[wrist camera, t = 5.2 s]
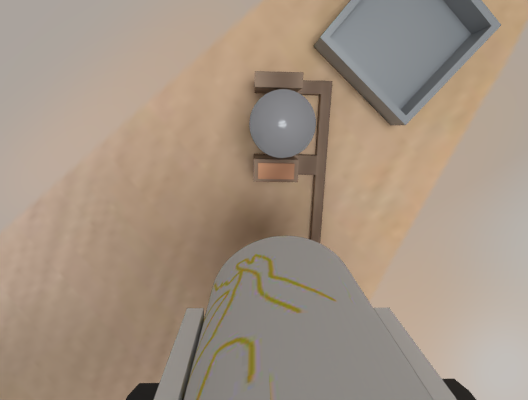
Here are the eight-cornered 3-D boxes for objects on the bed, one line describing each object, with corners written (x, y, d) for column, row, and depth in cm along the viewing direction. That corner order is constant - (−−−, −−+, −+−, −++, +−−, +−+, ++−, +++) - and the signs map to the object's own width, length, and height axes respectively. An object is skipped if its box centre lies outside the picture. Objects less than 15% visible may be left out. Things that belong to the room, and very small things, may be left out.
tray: (390, 125, 30) (405, 125, 27) (313, 46, 28) (320, 37, 25) (475, 35, 28) (501, 24, 25) (399, -57, 26) (417, -80, 23)
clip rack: (252, 321, 35) (251, 355, 30) (255, 80, 28) (254, 70, 23) (312, 321, 36) (322, 354, 30) (330, 82, 29) (346, 73, 23)
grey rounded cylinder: (251, 146, 30) (249, 157, 20) (251, 100, 29) (249, 88, 19) (295, 147, 30) (313, 158, 20) (297, 101, 29) (318, 90, 19)
